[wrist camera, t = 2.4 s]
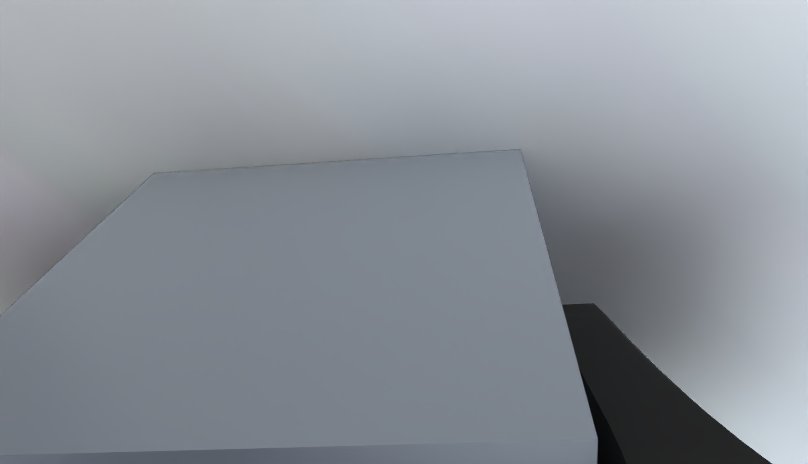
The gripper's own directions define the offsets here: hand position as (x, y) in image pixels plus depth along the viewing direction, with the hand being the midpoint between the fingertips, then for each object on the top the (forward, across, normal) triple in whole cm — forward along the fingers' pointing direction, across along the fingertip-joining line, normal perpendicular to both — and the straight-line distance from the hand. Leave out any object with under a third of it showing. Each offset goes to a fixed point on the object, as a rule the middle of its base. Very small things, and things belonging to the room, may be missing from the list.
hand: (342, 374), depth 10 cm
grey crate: (+2, 0, 0) cm, 2 cm away
